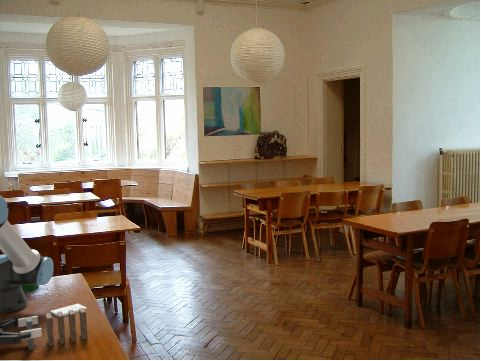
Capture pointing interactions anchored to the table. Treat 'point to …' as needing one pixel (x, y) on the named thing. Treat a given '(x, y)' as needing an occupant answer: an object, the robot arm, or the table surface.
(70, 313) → the walnut domino
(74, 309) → the external hard drive
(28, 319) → the black domino
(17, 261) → the robot arm
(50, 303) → the table surface
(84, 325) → the walnut domino
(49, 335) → the walnut domino
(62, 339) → the walnut domino
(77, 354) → the table surface
